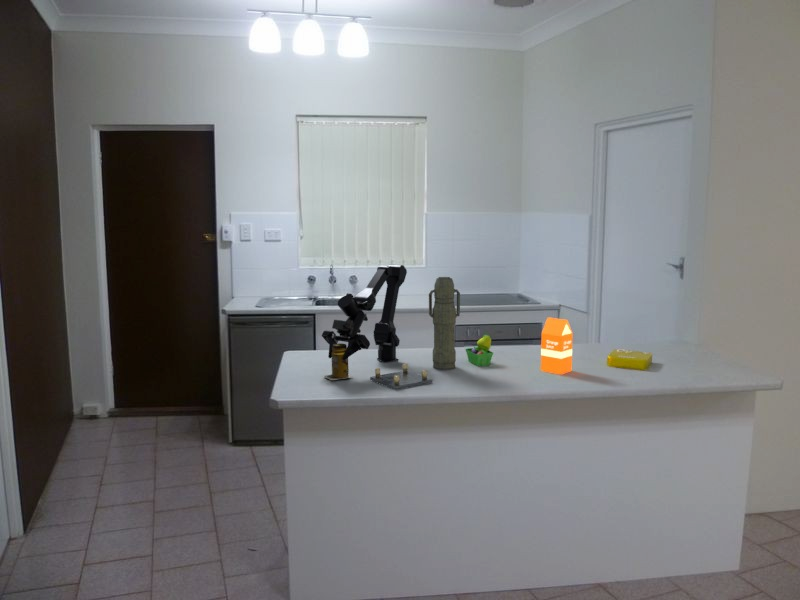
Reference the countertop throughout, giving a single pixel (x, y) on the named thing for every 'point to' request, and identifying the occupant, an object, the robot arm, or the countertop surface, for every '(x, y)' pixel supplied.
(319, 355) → the countertop surface
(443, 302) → the thermos
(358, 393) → the countertop surface
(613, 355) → the element tile
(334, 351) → the condiment
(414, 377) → the chassis plate
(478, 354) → the fruit basket
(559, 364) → the orange juice
